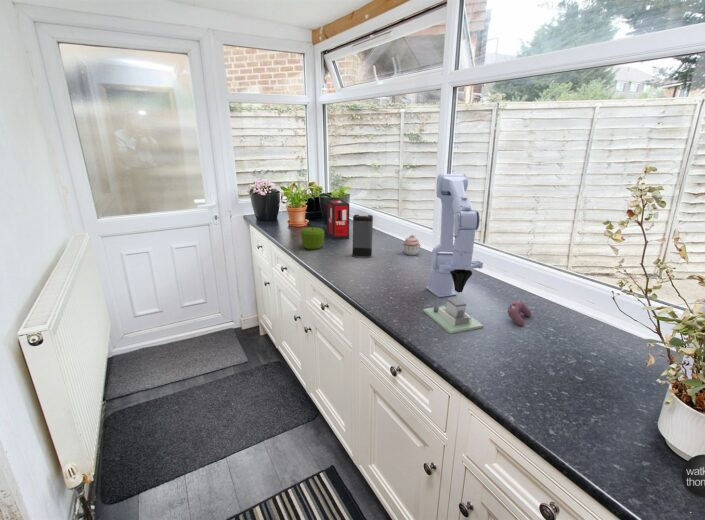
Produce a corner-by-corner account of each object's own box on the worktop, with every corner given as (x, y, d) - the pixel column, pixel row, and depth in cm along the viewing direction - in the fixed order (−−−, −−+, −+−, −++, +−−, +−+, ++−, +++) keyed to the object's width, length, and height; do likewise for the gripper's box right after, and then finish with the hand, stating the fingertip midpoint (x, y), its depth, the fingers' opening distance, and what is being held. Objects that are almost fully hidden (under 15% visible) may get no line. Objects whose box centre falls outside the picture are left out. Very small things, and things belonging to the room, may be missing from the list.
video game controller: (519, 317, 126) (512, 298, 126) (533, 315, 123) (526, 295, 123) (510, 328, 119) (503, 307, 119) (524, 326, 116) (517, 305, 116)
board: (423, 311, 126) (423, 303, 125) (453, 306, 130) (454, 299, 129) (449, 333, 112) (450, 325, 111) (483, 327, 116) (484, 319, 115)
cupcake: (400, 255, 185) (401, 236, 182) (402, 250, 194) (403, 231, 191) (419, 257, 183) (421, 237, 180) (421, 252, 192) (422, 233, 189)
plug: (445, 315, 121) (447, 299, 119) (454, 314, 122) (456, 297, 121) (455, 323, 116) (457, 306, 114) (464, 322, 117) (467, 304, 116)
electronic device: (371, 254, 186) (373, 214, 180) (371, 258, 181) (372, 217, 175) (353, 253, 187) (353, 214, 181) (352, 257, 182) (352, 216, 175)
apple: (323, 251, 190) (323, 230, 186) (299, 251, 190) (298, 229, 186) (325, 244, 201) (325, 224, 198) (303, 244, 202) (302, 224, 198)
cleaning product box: (348, 238, 215) (349, 204, 208) (333, 239, 212) (333, 204, 206) (341, 232, 230) (341, 199, 223) (327, 232, 227) (326, 200, 221)
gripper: (449, 256, 108) (445, 299, 112) (491, 251, 112) (485, 293, 117) (437, 249, 114) (433, 290, 118) (476, 245, 119) (471, 285, 123)
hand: (458, 291), depth 118 cm, fingers closed
